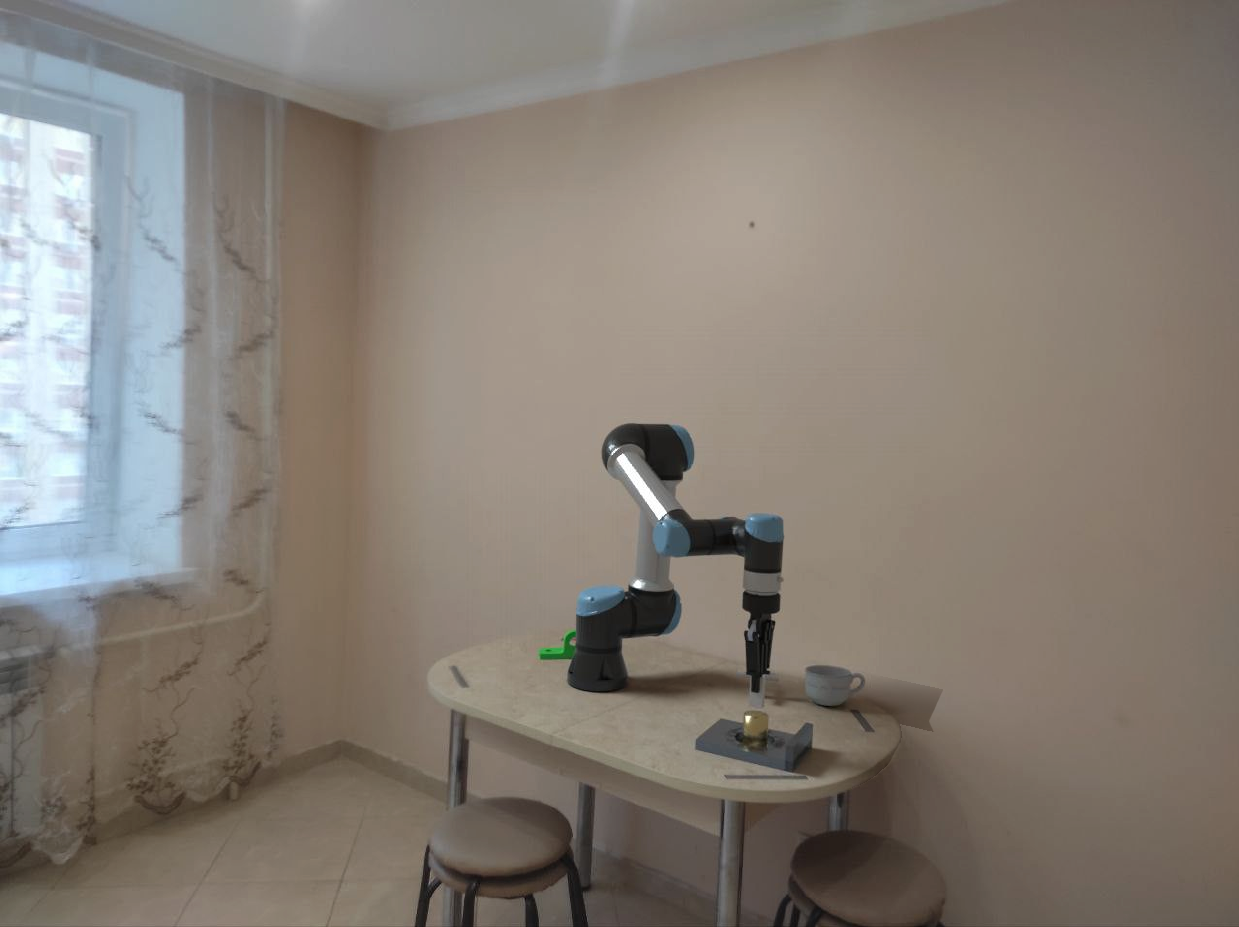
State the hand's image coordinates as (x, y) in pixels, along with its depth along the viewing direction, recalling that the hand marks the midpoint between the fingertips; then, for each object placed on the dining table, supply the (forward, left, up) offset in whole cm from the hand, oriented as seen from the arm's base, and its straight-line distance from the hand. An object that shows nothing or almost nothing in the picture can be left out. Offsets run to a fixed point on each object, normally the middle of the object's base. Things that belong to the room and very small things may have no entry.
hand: (756, 706), depth 168 cm
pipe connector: (-10, +31, -9) cm, 34 cm away
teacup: (+7, +37, -9) cm, 39 cm away
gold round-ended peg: (0, 0, -9) cm, 9 cm away
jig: (0, 0, -9) cm, 9 cm away
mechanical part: (-66, +31, -9) cm, 74 cm away
